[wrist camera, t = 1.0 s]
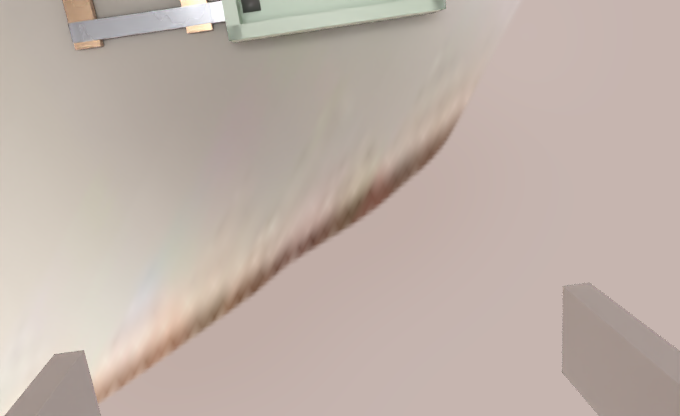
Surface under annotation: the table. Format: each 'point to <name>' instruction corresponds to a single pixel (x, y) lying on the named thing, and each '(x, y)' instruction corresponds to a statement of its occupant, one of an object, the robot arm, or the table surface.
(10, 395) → the table surface
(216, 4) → the rails
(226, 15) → the shallow green tray
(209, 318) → the table surface
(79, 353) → the robot arm
